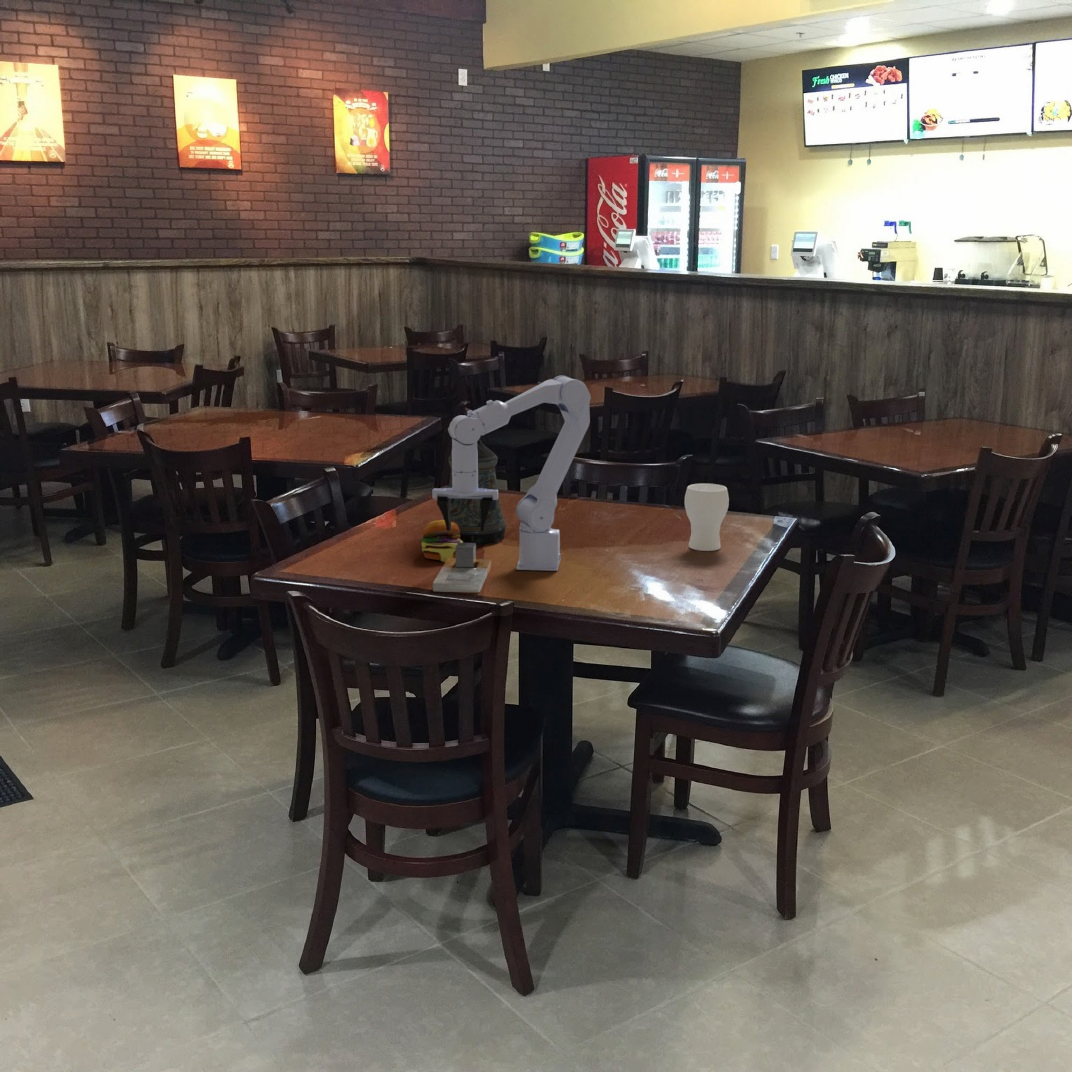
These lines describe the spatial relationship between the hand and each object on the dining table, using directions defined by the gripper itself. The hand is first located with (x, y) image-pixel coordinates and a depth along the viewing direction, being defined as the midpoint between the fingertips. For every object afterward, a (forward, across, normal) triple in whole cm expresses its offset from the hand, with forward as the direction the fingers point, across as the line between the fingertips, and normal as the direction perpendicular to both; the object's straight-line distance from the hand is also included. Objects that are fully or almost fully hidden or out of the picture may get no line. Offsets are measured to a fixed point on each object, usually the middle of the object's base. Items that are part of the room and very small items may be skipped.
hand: (465, 530), depth 253 cm
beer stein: (+10, -4, +32) cm, 34 cm away
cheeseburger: (+10, -8, +13) cm, 18 cm away
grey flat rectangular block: (+10, 0, -5) cm, 11 cm away
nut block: (+10, 0, 0) cm, 10 cm away
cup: (+10, +55, +28) cm, 62 cm away
